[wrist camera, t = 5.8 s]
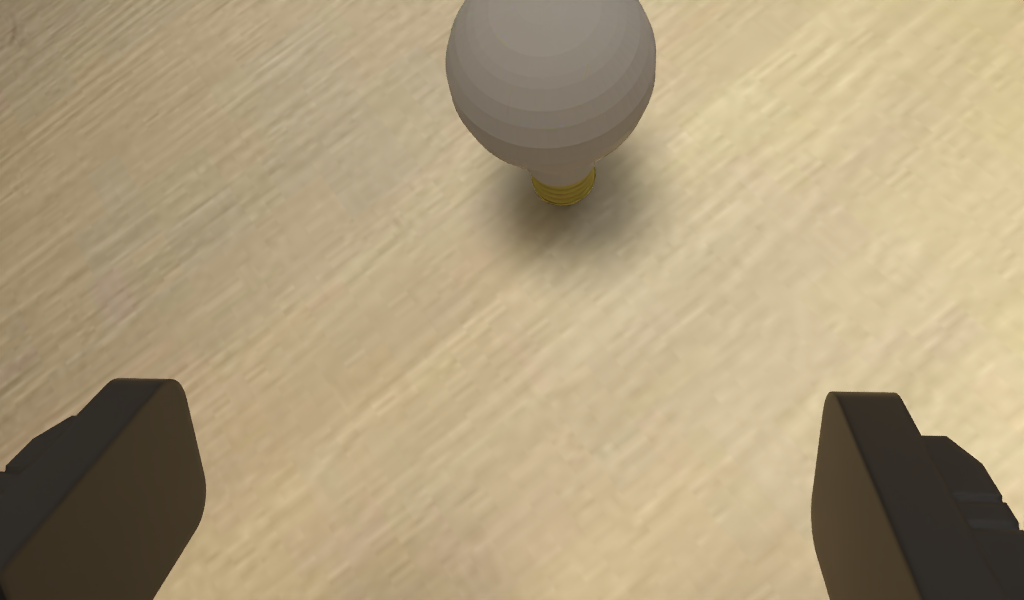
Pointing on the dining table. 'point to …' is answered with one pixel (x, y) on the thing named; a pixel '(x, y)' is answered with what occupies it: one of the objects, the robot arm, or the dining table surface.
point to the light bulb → (551, 83)
